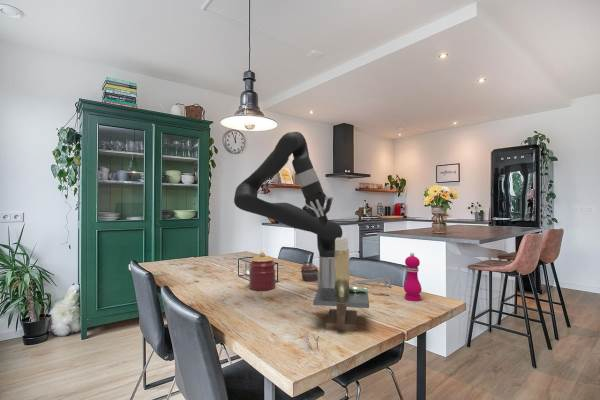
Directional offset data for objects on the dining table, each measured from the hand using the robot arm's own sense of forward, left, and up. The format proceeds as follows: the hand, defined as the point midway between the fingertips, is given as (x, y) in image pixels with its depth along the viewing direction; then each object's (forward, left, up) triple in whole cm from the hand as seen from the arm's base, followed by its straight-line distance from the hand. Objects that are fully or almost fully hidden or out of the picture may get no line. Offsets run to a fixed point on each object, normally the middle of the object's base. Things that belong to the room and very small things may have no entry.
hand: (325, 224), depth 119 cm
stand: (+9, -6, -33) cm, 35 cm away
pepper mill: (+25, +34, -34) cm, 54 cm away
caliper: (+2, +48, -34) cm, 59 cm away
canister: (-43, +17, -34) cm, 57 cm away
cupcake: (-30, +42, -34) cm, 61 cm away
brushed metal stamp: (+9, -6, -25) cm, 28 cm away
